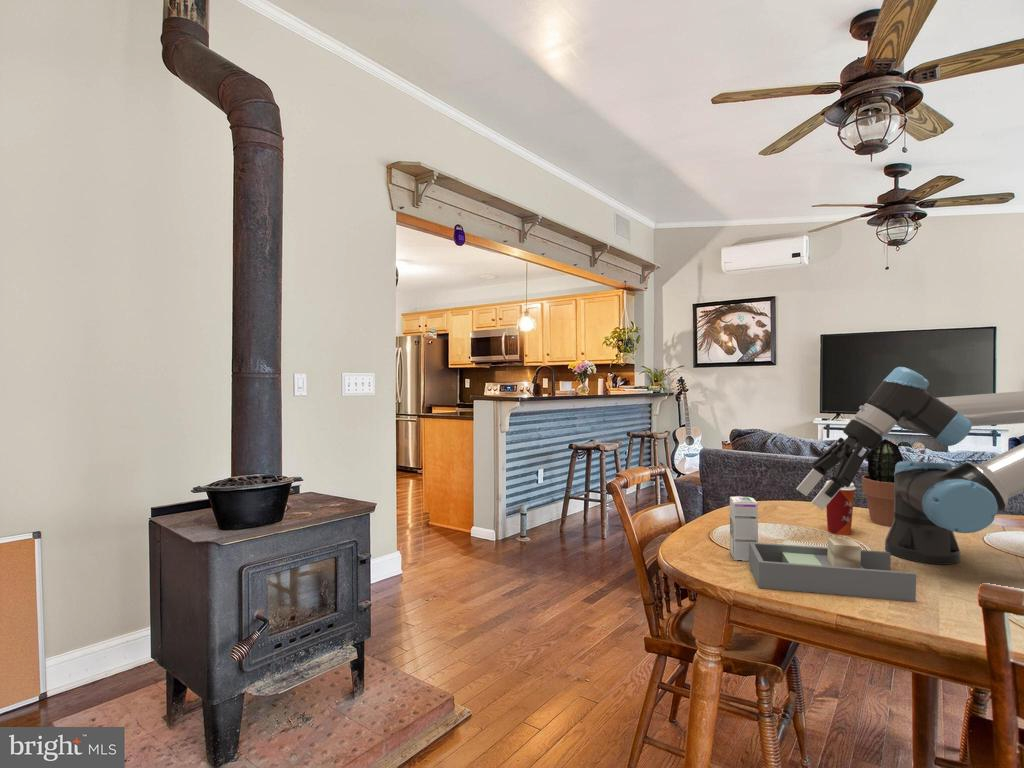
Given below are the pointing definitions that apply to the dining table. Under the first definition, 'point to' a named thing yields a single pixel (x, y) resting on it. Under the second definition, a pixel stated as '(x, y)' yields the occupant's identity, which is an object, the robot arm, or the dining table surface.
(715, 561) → the dining table surface
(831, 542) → the birch block
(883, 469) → the potted plant
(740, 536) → the syrup box
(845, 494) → the paper cup
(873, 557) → the trap lane
